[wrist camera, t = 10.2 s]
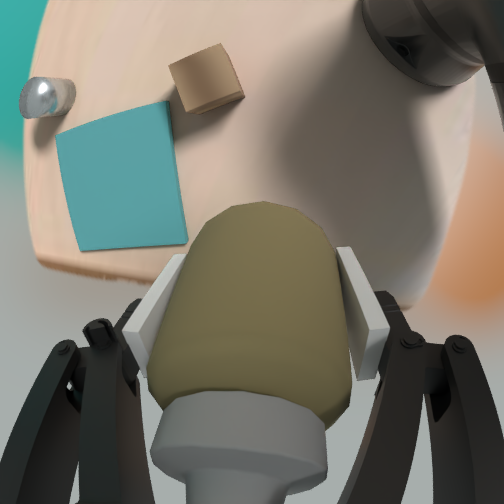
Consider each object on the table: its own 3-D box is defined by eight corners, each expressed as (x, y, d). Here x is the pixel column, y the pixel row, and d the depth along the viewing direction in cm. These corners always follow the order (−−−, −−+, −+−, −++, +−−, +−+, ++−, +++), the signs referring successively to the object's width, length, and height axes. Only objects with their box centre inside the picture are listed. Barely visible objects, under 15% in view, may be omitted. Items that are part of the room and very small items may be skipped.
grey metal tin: (75, 73, 24) (44, 70, 18) (77, 108, 26) (45, 110, 20) (49, 87, 24) (18, 86, 19) (51, 120, 26) (20, 124, 21)
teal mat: (168, 101, 26) (165, 100, 25) (188, 240, 32) (186, 243, 31) (59, 134, 27) (55, 135, 26) (83, 247, 34) (80, 250, 33)
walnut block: (228, 56, 23) (220, 43, 19) (245, 97, 25) (239, 90, 21) (184, 74, 24) (168, 65, 20) (199, 114, 26) (185, 112, 22)
